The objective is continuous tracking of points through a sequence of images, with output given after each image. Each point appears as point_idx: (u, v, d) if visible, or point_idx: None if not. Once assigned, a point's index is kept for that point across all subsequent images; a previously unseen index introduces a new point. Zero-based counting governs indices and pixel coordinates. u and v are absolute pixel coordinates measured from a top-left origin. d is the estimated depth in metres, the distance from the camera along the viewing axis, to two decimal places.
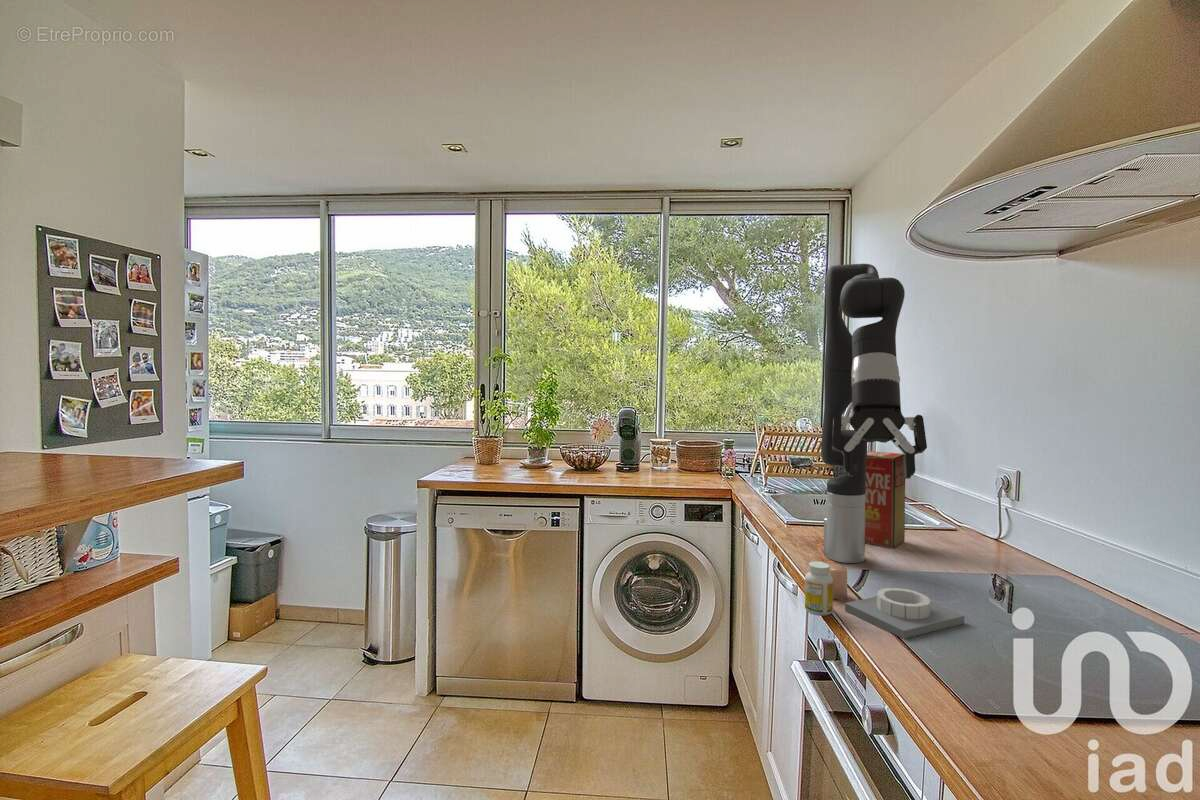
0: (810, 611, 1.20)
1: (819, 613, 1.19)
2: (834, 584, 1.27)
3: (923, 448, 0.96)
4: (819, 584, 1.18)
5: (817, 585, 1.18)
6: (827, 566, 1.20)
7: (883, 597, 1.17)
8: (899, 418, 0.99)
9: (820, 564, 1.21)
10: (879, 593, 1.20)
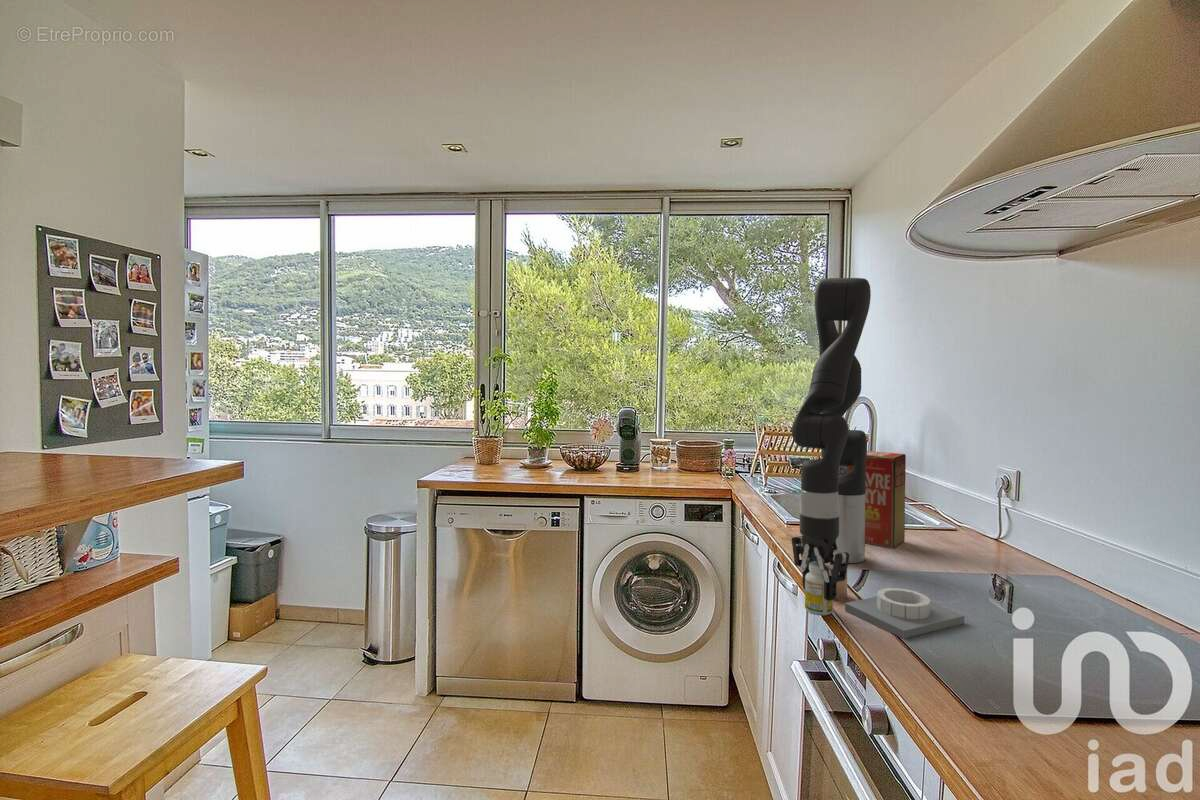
0: (810, 611, 1.20)
1: (819, 613, 1.19)
2: None
3: (833, 581, 1.15)
4: (819, 584, 1.18)
5: (817, 584, 1.18)
6: None
7: (883, 597, 1.17)
8: (827, 549, 1.17)
9: None
10: (879, 593, 1.20)
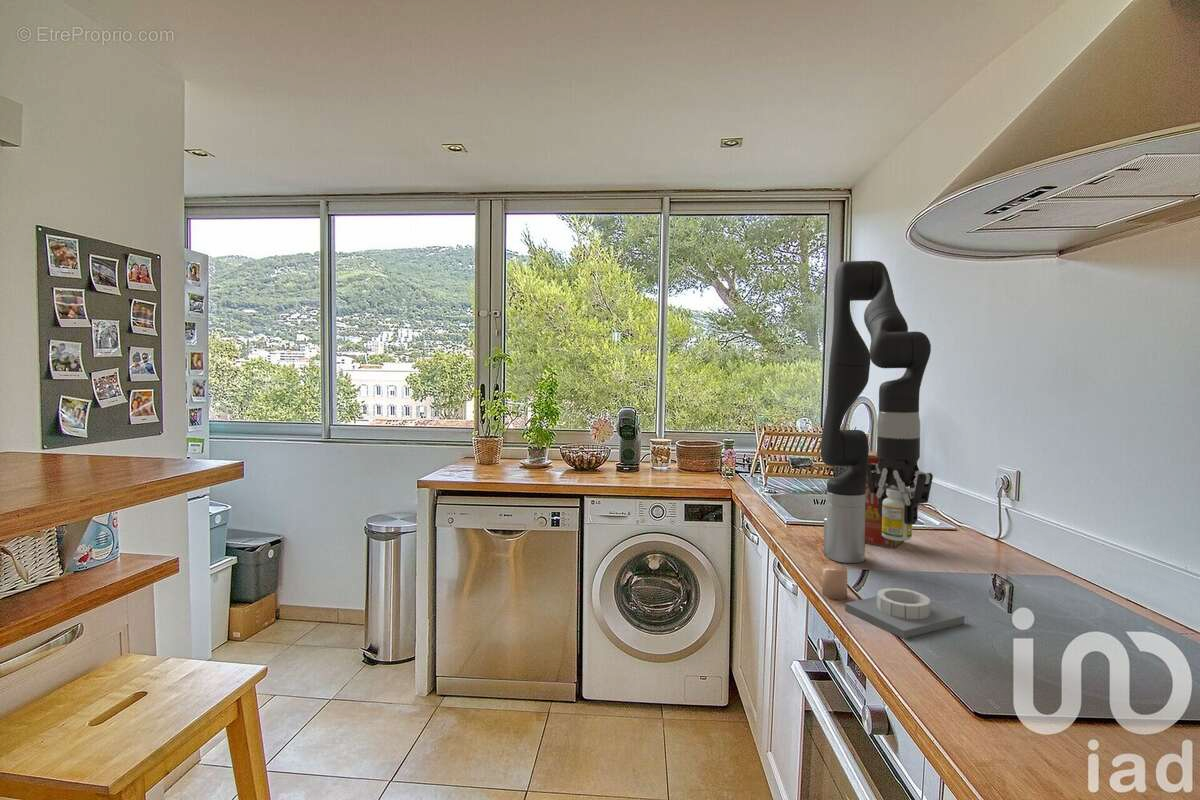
0: (888, 536, 1.16)
1: (898, 538, 1.15)
2: (834, 584, 1.27)
3: (916, 502, 1.11)
4: (899, 508, 1.14)
5: (897, 508, 1.14)
6: None
7: (883, 597, 1.17)
8: (908, 470, 1.13)
9: (898, 489, 1.17)
10: (879, 593, 1.20)
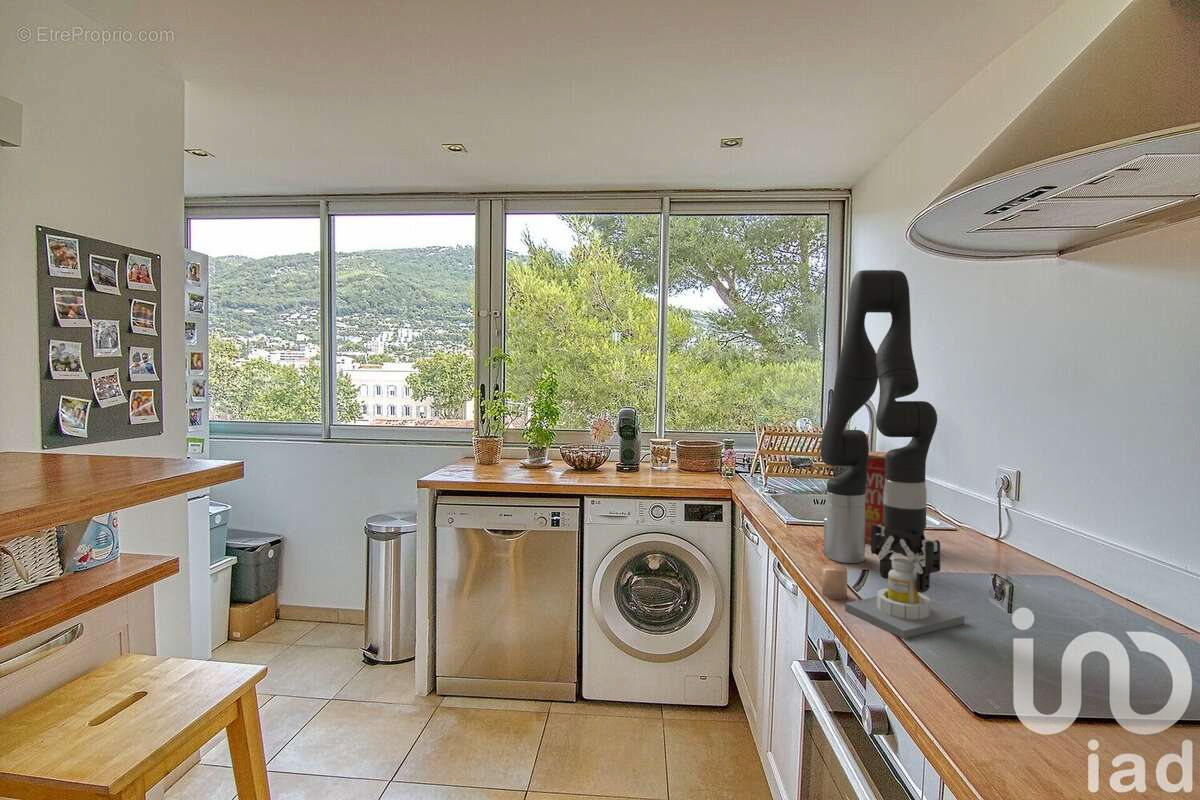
0: None
1: None
2: (834, 584, 1.27)
3: (928, 572, 1.11)
4: (905, 581, 1.15)
5: (903, 582, 1.15)
6: (912, 563, 1.16)
7: (883, 597, 1.17)
8: (914, 540, 1.13)
9: (904, 561, 1.17)
10: (879, 593, 1.20)
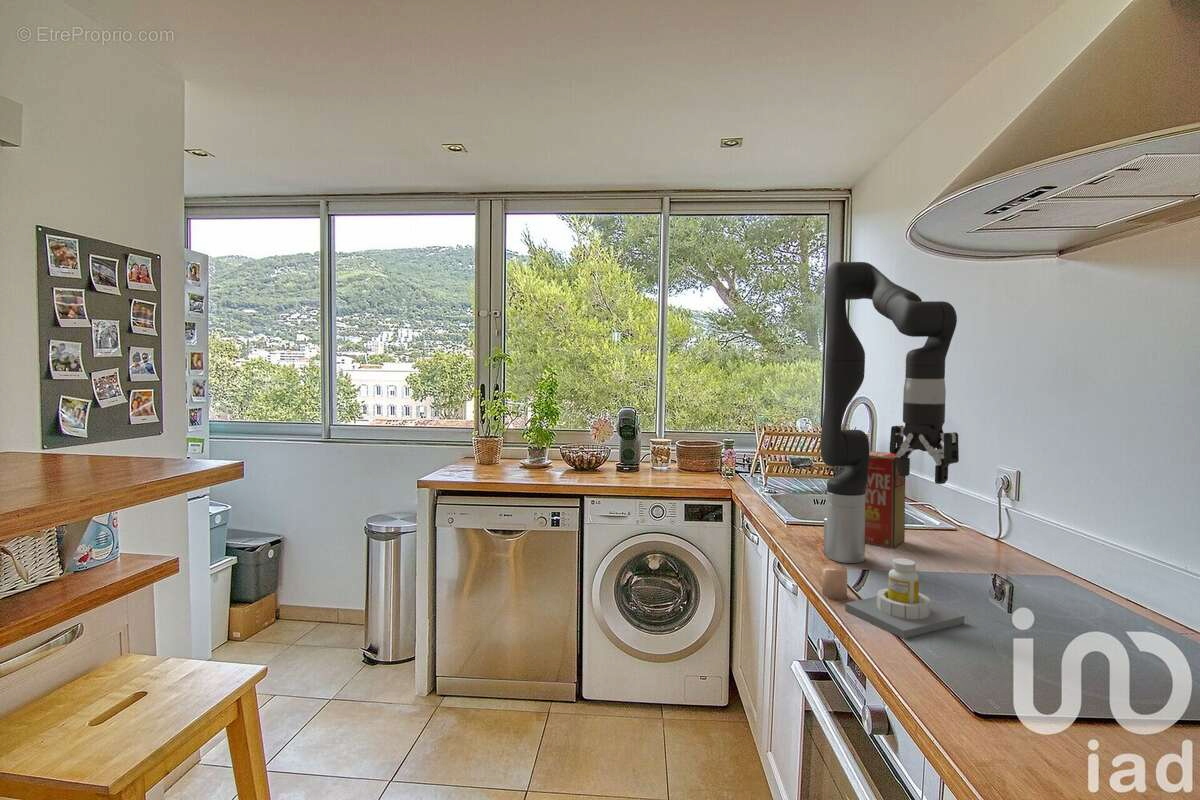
0: None
1: None
2: (834, 584, 1.27)
3: (947, 462, 1.15)
4: (905, 582, 1.15)
5: (904, 582, 1.15)
6: (913, 563, 1.16)
7: (883, 597, 1.17)
8: (933, 434, 1.18)
9: (905, 561, 1.17)
10: (879, 593, 1.20)
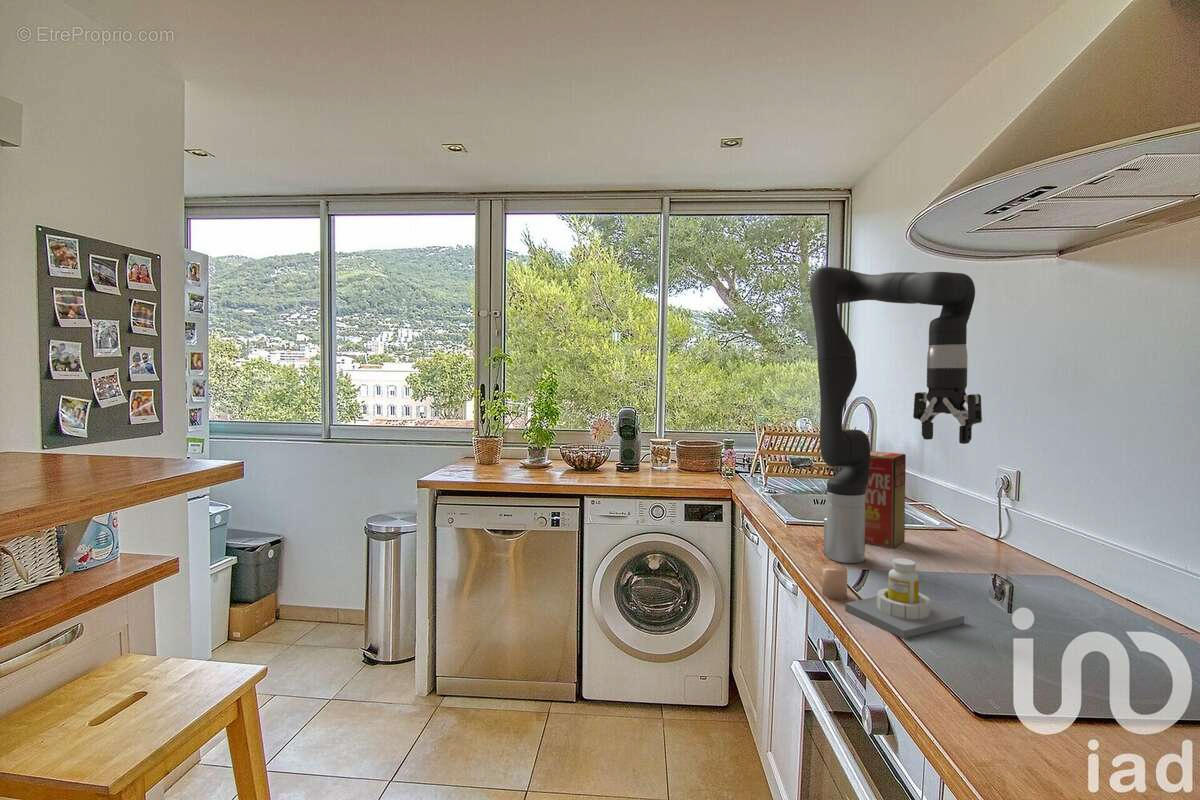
0: None
1: None
2: (834, 584, 1.27)
3: (971, 422, 1.22)
4: (905, 582, 1.15)
5: (904, 582, 1.15)
6: (913, 563, 1.16)
7: (883, 597, 1.17)
8: (957, 397, 1.25)
9: (905, 561, 1.17)
10: (879, 593, 1.20)
